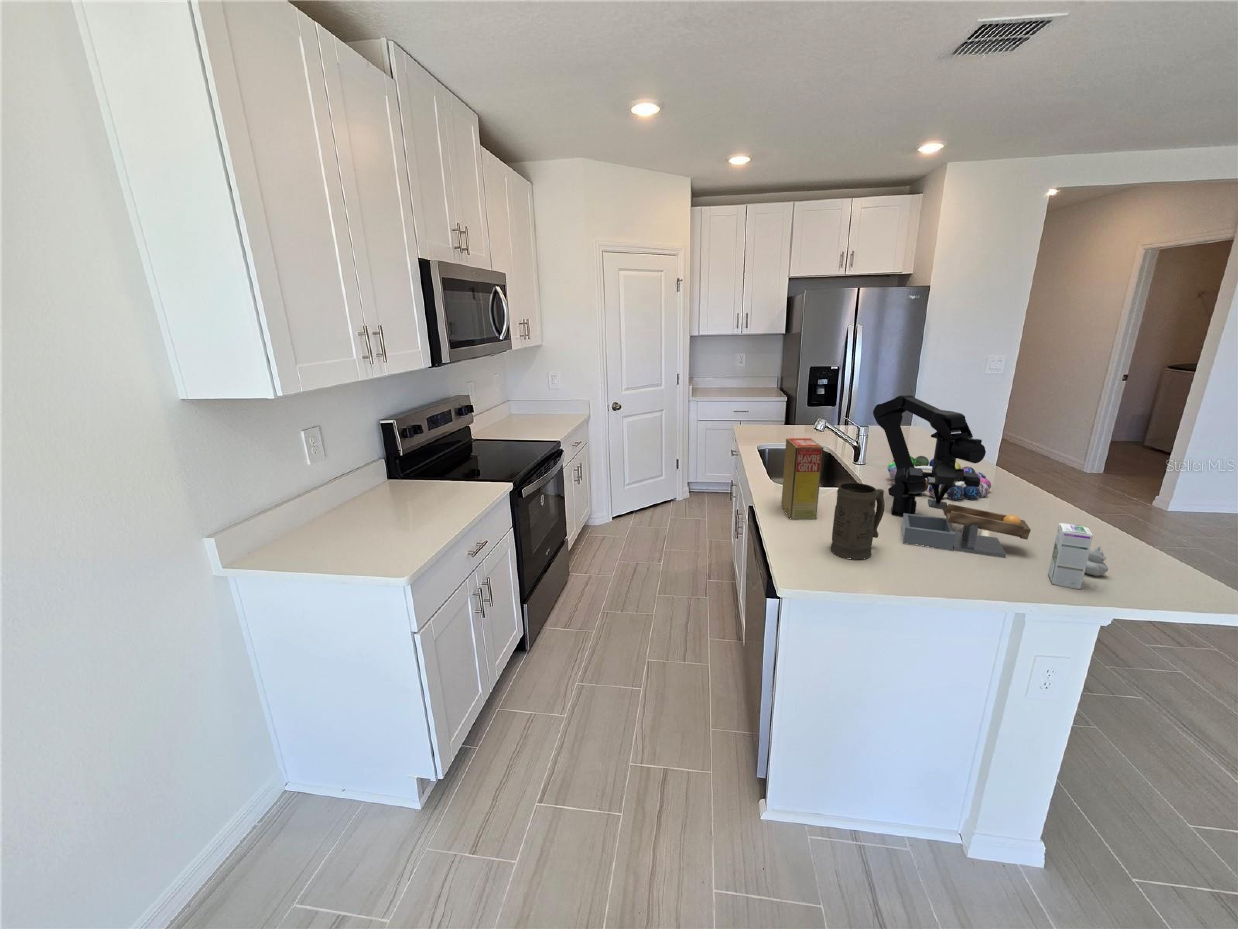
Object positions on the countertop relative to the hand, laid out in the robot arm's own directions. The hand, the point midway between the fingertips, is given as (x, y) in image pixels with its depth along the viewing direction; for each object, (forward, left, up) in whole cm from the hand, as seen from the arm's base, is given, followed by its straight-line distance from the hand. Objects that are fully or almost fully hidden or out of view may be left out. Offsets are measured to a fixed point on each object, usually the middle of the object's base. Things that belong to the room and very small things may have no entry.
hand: (937, 503), depth 157 cm
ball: (+17, -10, 0) cm, 19 cm away
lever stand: (+10, -10, -8) cm, 16 cm away
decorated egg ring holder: (+4, +45, -9) cm, 46 cm away
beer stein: (-21, -26, -8) cm, 35 cm away
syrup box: (+26, -26, -8) cm, 37 cm away
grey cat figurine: (+33, -18, -8) cm, 38 cm away
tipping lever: (+9, -6, -2) cm, 11 cm away
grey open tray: (-3, -10, -8) cm, 13 cm away
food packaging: (-40, -2, -8) cm, 41 cm away
